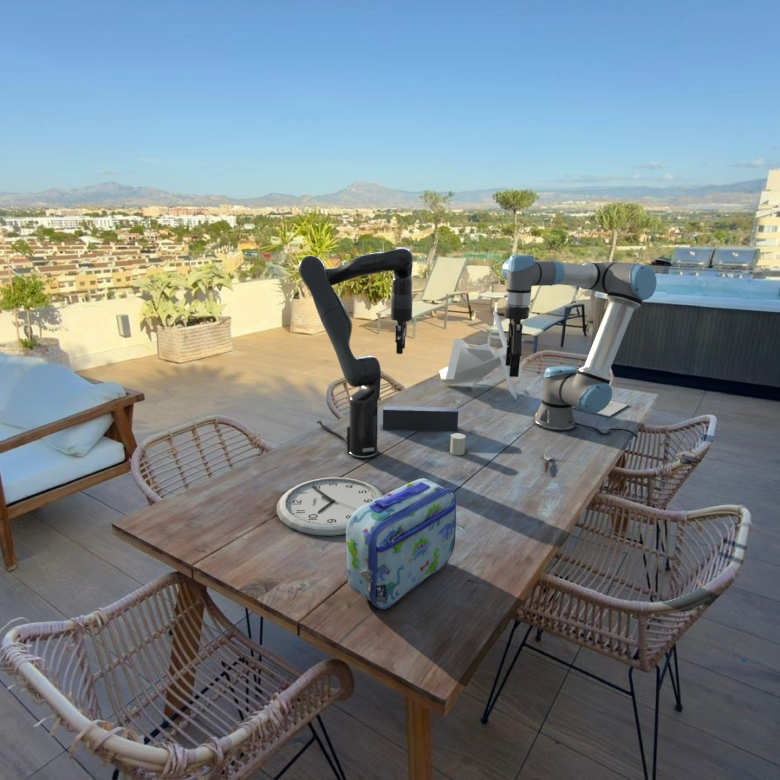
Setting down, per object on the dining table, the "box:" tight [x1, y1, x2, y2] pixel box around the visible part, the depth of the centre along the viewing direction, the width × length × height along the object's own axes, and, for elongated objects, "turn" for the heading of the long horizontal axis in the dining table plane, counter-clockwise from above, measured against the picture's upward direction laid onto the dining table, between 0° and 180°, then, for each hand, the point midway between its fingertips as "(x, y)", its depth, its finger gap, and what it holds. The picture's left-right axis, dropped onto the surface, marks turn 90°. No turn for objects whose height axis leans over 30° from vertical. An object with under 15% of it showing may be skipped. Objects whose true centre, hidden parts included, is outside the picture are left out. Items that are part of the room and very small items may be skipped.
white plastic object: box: [438, 310, 531, 400], centre depth 245 cm, size 37×45×31 cm
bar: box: [382, 405, 459, 433], centre depth 197 cm, size 28×4×8 cm, turn 88°
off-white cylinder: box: [449, 432, 467, 456], centre depth 177 cm, size 5×5×6 cm
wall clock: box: [276, 476, 385, 537], centre depth 142 cm, size 30×2×30 cm
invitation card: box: [573, 400, 629, 418], centre depth 226 cm, size 21×1×15 cm
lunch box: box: [345, 477, 457, 610], centre depth 110 cm, size 26×11×21 cm, turn 134°
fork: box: [543, 448, 554, 473], centre depth 170 cm, size 3×16×2 cm, turn 160°
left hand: (400, 351), depth 189 cm, fingers open, 8 cm apart
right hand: (511, 370), depth 171 cm, fingers open, 13 cm apart
